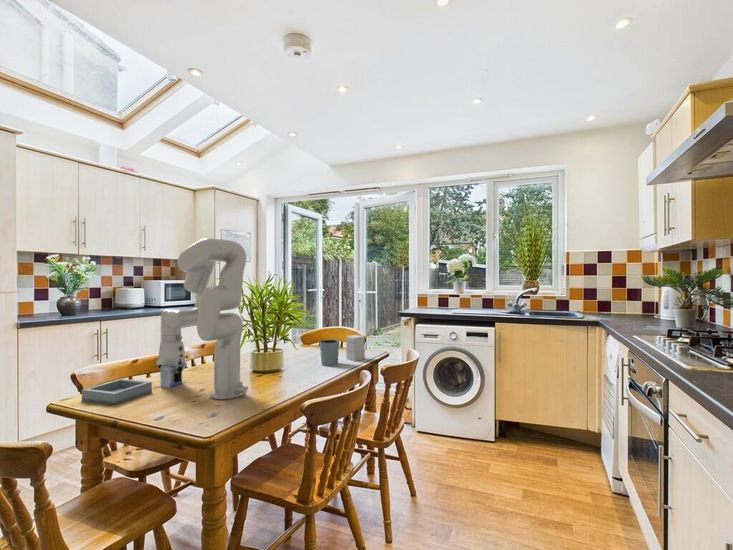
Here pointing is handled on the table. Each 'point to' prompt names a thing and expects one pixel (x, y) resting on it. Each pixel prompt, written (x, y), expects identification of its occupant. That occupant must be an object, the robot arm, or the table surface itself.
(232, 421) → the table surface
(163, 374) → the medicine box
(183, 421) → the table surface
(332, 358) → the grey-green bucket
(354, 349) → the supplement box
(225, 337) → the robot arm
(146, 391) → the tray
